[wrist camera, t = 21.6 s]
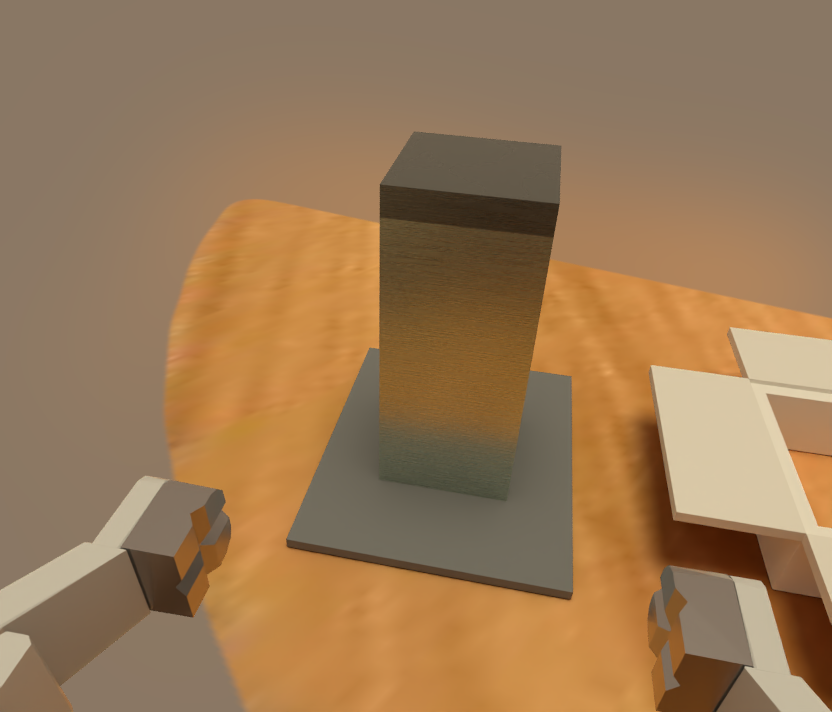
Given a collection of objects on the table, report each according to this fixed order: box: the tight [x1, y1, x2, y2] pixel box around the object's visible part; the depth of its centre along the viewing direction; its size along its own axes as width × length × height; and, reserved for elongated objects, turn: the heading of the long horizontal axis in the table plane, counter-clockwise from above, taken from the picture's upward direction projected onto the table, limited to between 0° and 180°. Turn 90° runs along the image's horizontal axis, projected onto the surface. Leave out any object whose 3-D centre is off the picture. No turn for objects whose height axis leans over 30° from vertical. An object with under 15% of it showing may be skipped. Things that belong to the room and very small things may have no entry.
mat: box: [286, 348, 573, 599], centre depth 27 cm, size 10×12×1 cm
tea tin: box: [379, 132, 561, 501], centre depth 23 cm, size 5×5×12 cm
